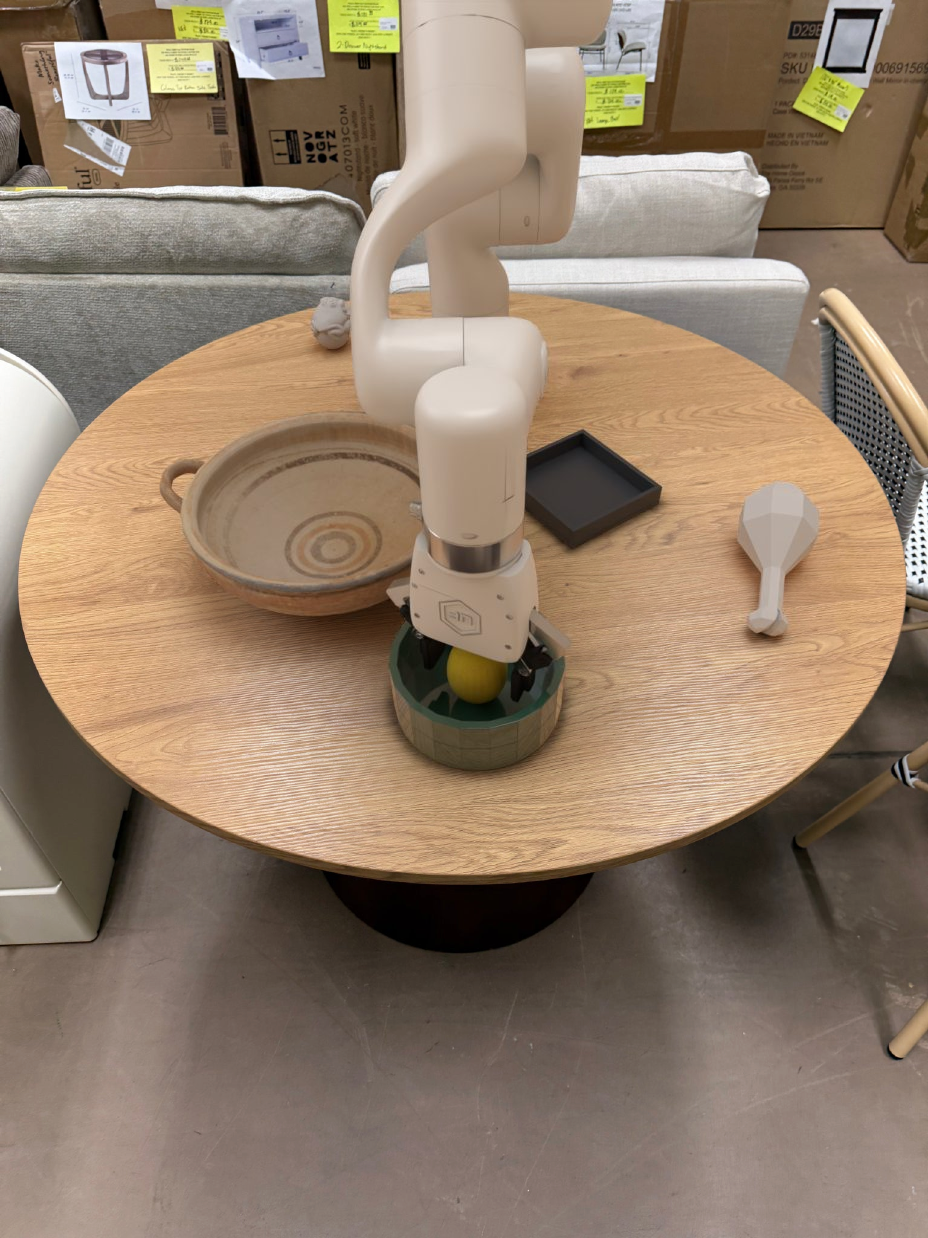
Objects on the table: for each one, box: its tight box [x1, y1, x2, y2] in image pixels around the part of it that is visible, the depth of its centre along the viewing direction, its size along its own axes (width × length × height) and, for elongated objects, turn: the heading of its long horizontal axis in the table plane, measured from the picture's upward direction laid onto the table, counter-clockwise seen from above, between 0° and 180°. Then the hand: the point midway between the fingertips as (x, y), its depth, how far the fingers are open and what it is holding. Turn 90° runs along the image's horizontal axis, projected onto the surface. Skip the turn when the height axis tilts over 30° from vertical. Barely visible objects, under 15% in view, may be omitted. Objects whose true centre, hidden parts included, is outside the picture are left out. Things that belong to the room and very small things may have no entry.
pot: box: [388, 611, 566, 771], centre depth 75 cm, size 16×16×6 cm
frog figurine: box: [310, 296, 351, 350], centre depth 119 cm, size 6×7×7 cm
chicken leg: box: [736, 480, 820, 637], centre depth 84 cm, size 8×18×8 cm, turn 165°
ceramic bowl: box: [159, 410, 422, 617], centre depth 87 cm, size 37×29×10 cm
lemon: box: [447, 647, 508, 704], centre depth 74 cm, size 6×6×8 cm
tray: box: [524, 428, 663, 550], centre depth 96 cm, size 14×13×3 cm
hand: (477, 673), depth 74 cm, fingers open, 8 cm apart
